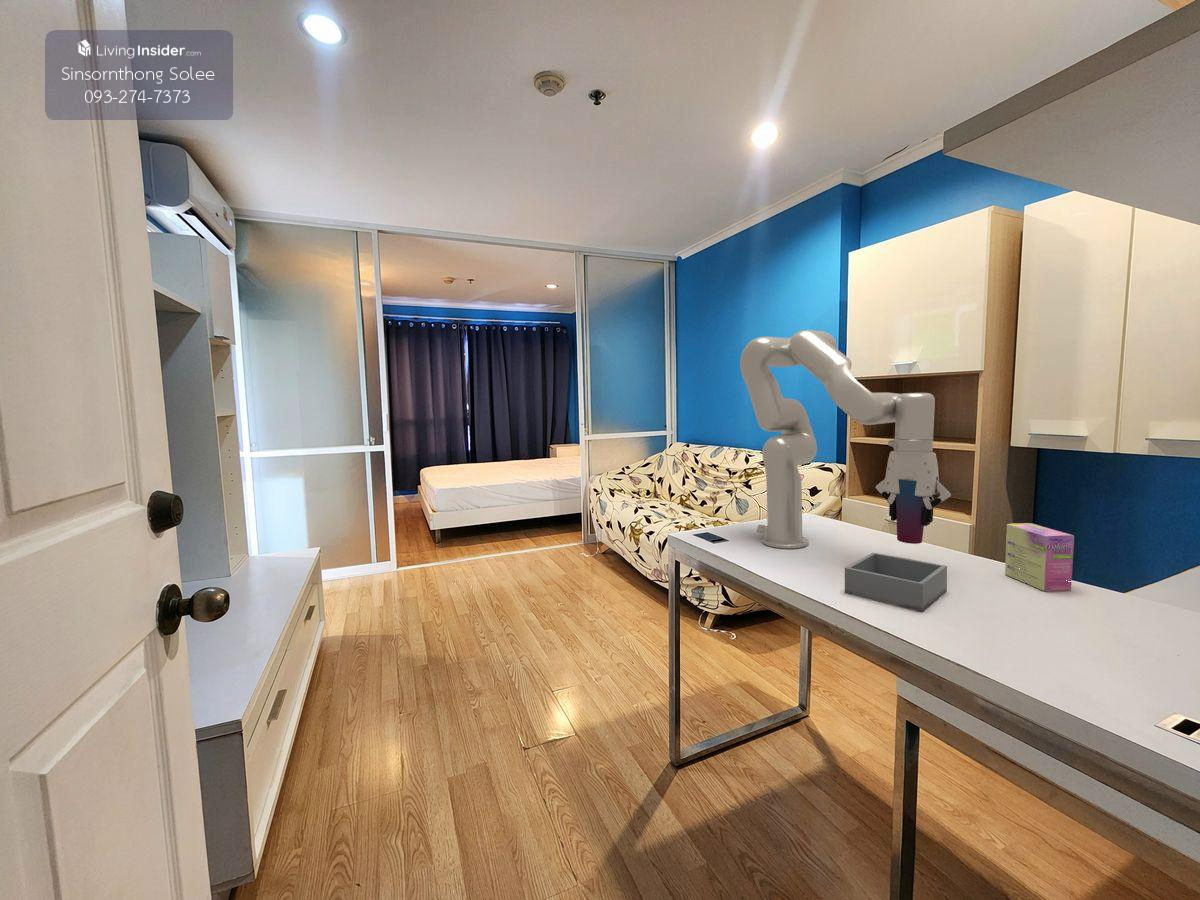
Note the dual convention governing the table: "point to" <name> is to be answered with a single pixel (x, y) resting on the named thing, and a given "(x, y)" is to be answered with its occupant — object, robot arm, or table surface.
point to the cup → (909, 513)
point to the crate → (896, 581)
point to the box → (1039, 556)
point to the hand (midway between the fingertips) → (910, 521)
